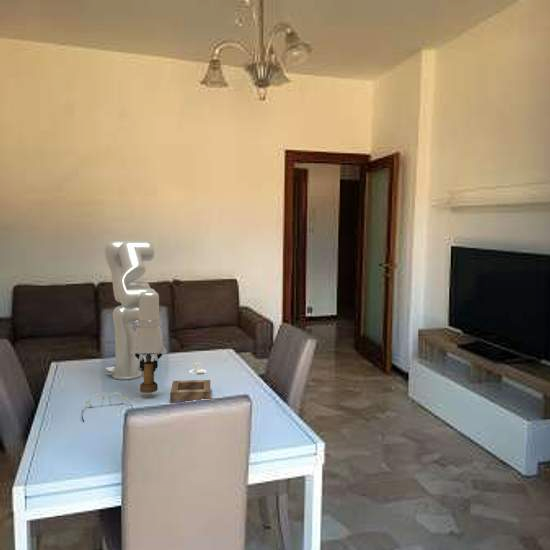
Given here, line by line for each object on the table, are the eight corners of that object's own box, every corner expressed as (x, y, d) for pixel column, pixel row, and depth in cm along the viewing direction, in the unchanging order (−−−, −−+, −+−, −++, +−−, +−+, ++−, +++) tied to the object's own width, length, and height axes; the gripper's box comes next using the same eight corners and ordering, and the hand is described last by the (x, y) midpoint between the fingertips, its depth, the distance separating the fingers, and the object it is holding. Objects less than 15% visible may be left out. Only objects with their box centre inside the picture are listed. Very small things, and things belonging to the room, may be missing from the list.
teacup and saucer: (204, 375, 233) (204, 366, 232) (187, 375, 233) (187, 366, 233) (207, 370, 242) (207, 361, 241) (190, 369, 242) (190, 361, 241)
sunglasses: (130, 404, 194) (129, 391, 194) (133, 418, 180) (133, 404, 180) (81, 408, 188) (81, 395, 188) (81, 423, 174) (81, 409, 174)
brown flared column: (142, 394, 197) (141, 348, 195) (138, 388, 203) (138, 344, 201) (159, 391, 201) (159, 346, 198) (155, 386, 206) (155, 342, 204)
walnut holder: (170, 402, 195) (170, 392, 195) (173, 390, 210) (173, 380, 209) (210, 401, 197) (210, 391, 196) (210, 389, 212) (210, 379, 211)
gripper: (124, 325, 194) (125, 373, 196) (170, 325, 196) (169, 372, 198) (128, 321, 201) (128, 367, 204) (171, 321, 204) (171, 367, 206)
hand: (148, 369), depth 201 cm, fingers closed on brown flared column, 3 cm apart
